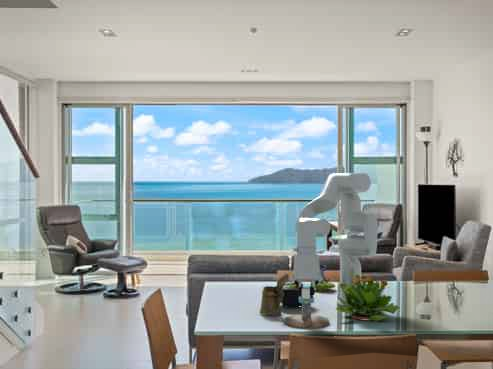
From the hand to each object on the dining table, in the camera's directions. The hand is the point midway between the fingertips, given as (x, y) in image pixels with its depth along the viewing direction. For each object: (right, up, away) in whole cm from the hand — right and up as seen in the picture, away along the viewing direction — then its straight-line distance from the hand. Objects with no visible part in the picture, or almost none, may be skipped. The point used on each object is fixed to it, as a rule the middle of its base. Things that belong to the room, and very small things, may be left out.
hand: (306, 296), depth 239 cm
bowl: (-3, -10, +31) cm, 33 cm away
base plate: (0, -11, 0) cm, 11 cm away
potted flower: (+23, -11, +9) cm, 27 cm away
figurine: (+15, -10, +68) cm, 71 cm away
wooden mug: (-12, -11, +14) cm, 22 cm away
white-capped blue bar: (0, -2, 0) cm, 2 cm away
